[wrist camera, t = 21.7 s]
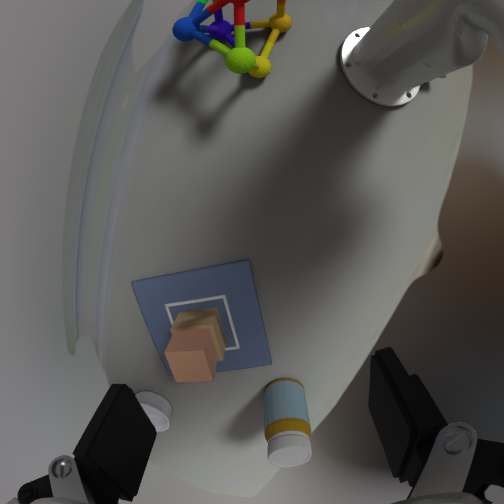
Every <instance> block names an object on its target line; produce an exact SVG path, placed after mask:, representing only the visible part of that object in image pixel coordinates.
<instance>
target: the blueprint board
mask: <svg viewBox="0 0 504 504" xmlns="http://www.w3.org/2000/svg"><path fill="white" fill-rule="evenodd" d="M131 283H132V286H133V288H134V291H135V294H136V297H137V300H138V302H139V305H140V308H141V310H142V313H143V316H144V318H145V321H146V323H147V326H148V328H149V331H150V333H151V335H152V338H153V340H154V343H155V345H156V347H157V350H158V352H159V354H160V356H161V359H162V361H163V363H164V365H165V368H166V370H167V372H168V374H169V375H173V374H172V371H171V369H170V366H169V363H168V361H167V358H166V356H165V353H164V352H165V350H166V348H167V346H168V344H169V341H170V339H171V337H172V333H171V330H170V329H171V327H172V325H173V323H174V321H175V319H176V317H177V315H178V313H179V312H185V311H192V310H200V309H207V308H214V307H218V311H219V315H220V318H221V322H222V326H223V329H224V333H225V336H226V340H227V342H226V348H225V353H224V359H223V360H221V361H217V365H216V370H215V372H219V371H228V370H236V369H244V368H251V367H258V366H265V365H271V364H272V360H271V356H270V352H269V347H268V343H267V338H266V334H265V329H264V325H263V321H262V316H261V312H260V307H259V303H258V298H257V294H256V289H255V285H254V281H253V276H252V272H251V267H250V263H249V259H248V260H243V261H237V262H232V263H227V264H221V265H216V266H211V267H206V268H200V269H195V270H190V271H184V272H179V273H173V274H168V275H163V276H157V277H152V278H147V279H141V280H136V281H132V282H131Z"/></svg>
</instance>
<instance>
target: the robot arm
mask: <svg viewBox="0 0 504 504" xmlns="http://www.w3.org/2000/svg"><path fill="white" fill-rule="evenodd" d="M487 35H489V36H490V37H491V38H492V39H493V40H494V41H495V43H496V44H497V45H498V46H499V47H500V49H502V50H503V51H504V0H394V1H393V3H392V4H391V5H390V6H389V7H388V8H387V9H386V10H385V11H384V13H383V14H382V15H381V16H380V17H379V18H378V19H377V20H376V22H375V23H374V24H373V25H372V26H371V27H370V28H362V29H358V30H356V31H354V32H352V33H351V34H350V35H349V36H348V37H347V38H346V39H345V41H344V42H343V44H342V46H341V50H340V63H341V67H342V70H343V72H344V75H345V77H346V78H347V80H348V82H349V83H350V84H351V86H352V87H353V88H354V89H355V90H356V91H357V92H358V93H359V94H361V95H362V96H363V97H365V98H366V99H368V100H369V101H371V102H374V103H376V104H379V105H382V106H390V107H394V106H400V105H403V104H406V103H407V102H409V101H411V100H412V99H413V98H414V97H415V96H416V95H417V93H418V91H419V89H420V86H421V84H423V83H426V82H428V81H431V80H433V79H435V78H445V77H446V74H448V73H450V72H453V71H456V70H458V69H461V68H464V67H466V66H469V65H471V64H473V63H474V62H476V61H477V60H478V59H479V58H480V57H481V55H482V54H483V52H484V49H485V46H486V42H487ZM346 65H347V66H348V67H347V66H346ZM373 96H374V97H375V98H374V97H373ZM368 405H369V411H370V413H371V416H372V419H373V421H374V424H375V426H376V429H377V432H378V435H379V437H380V440H381V443H382V446H383V448H384V452H385V454H386V457H387V460H388V463H389V466H390V469H391V472H392V475H393V477H394V478H397V477H399V480H400V482H401V483H402V482H404V481H407V480H408V483H409V486H411V487H412V489H411V491H410V493H409V495H408V497H407V499H406V500H403V501H399V502H395V503H392V504H492V503H495V504H504V443H500V442H493V441H488V440H482V439H477V434H476V432H475V430H474V429H473V428H472V427H471V426H469V425H467V424H464V423H453V424H449V425H448V424H447V422H446V421H445V419H444V417H443V415H442V414H441V412H440V410H439V409H438V407H437V405H436V404H435V402H434V400H433V399H432V397H431V396H430V394H429V392H428V391H427V389H426V388H425V386H424V384H423V383H422V381H421V380H420V378H419V377H418V376H417V375H416V374H413V375H410V376H409V375H408V373H407V371H406V370H405V368H404V367H403V365H402V364H401V362H400V360H399V359H398V357H397V355H396V354H395V353H394V351H393V349H392V348H391V347H387V348H384V349H380V350H377V351H376V352H375V355H373V356H371V364H370V388H369V402H368ZM156 435H157V432H156V428H155V427H154V425H153V423H152V422H151V420H150V419H149V417H148V416H147V414H146V413H145V411H144V409H143V408H142V406H141V404H140V403H139V401H138V399H137V398H136V396H135V394H134V393H133V391H132V389H131V388H129V387H128V386H127V385H126V384H112V385H111V386H110V388H109V390H108V392H107V393H106V395H105V397H104V398H103V400H102V402H101V403H100V405H99V407H98V409H97V410H96V412H95V414H94V416H93V417H92V419H91V421H90V422H89V424H88V426H87V428H86V430H85V432H84V433H83V435H82V437H81V439H80V440H79V442H78V444H77V446H76V448H75V450H74V452H73V455H75V458H74V459H73V458H72V457H70V456H66V455H63V456H59V457H57V458H55V459H54V460H53V461H52V462H51V464H50V465H49V469H48V472H49V474H48V475H46V476H44V477H41V478H39V479H36V480H34V481H31V482H29V483H26V484H24V485H23V486H22V487H21V488H20V489H19V491H18V499H17V498H16V497H15V498H13V499H12V500H11V501H9V502H8V503H7V504H119V503H118V500H119V498H120V499H121V500H126V501H131V502H132V500H133V497H134V496H136V495H137V493H138V490H139V487H140V483H141V480H142V477H143V474H144V471H145V468H146V465H147V462H148V459H149V456H150V453H151V450H152V447H153V444H154V441H155V438H156Z"/></svg>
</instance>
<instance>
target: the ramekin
mask: <svg viewBox="0 0 504 504" xmlns="http://www.w3.org/2000/svg"><path fill="white" fill-rule="evenodd" d="M135 396H136V398H137V399H138V401H139V403H140V404H141V406H142V408H143V409H144V411H145V413H146V414H147V416H148V417H149V419H150V420H151V422H152V423H153V425H154V427H155V428H156V432H163V431H166V430H167V429H168V428H169V426H170V417H171V412H172V408H171V405H170V404H169V402H168V401H167V400H166V399H165V398H163V397H162V396H160V395H158V394H156V393H153V392H149V391H142V392H139V393H137V394H136V395H135Z"/></svg>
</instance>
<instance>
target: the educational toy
mask: <svg viewBox="0 0 504 504" xmlns="http://www.w3.org/2000/svg"><path fill="white" fill-rule="evenodd" d="M207 1H208V0H198V1H197V3H196V5H195V6H194V8H193V10H192V11H191V13H190V15H189V17H184V18H181V19H179V20H178V21H177V22H176V23H175V24H174V26H173V29H172V30H173V34H174V36H175V37H176V38H177V39H178V40H181V41H190V40H192V39H194V38H195V39H197V40H199V41H201V42H202V43H204V44H206V45H208V46H209V47H211V48H213V49H214V50H216V51H218V52H219V53H221V54H223V55H224V56H226V59H225V62H226V66H227V67H228V69H229V70H230V71H232V72H234V73H237V74H244V73H247V72H249V74H250V75H251V76H253V77H255V78H263V77H266V76H267V75H268V74H269V73H270V71H271V63H270V61H269V60H268V59H267V58H268V56H269V54H270V52H271V50H272V48H273V46H274V43H275V41H276V39H277V37H278V35H279V33H282V32H286V31H288V30H289V29H290V28H291V26H292V20H291V18H290V17H289V16H288V15H286V14H285V3H286V0H277V13H276V14H273V15H272V16H271V17H270V18H269V20H265V21H255V22H247V23H245V7H244V3H247V2H248V1H250V0H212V1H213V4H211V5H210V6H209V7H207V8H206V9H205V10H203V11H202V9H203V8H204V6H205V4H206V3H207ZM228 3H233V4H234V24H232V25H230V23H229V22H227V21H225V20H223V14H222V7H224V6H225V5H227V4H228ZM201 11H202V12H201ZM212 14H214V16H215V21H214V22H213V23H212V24H211V25H210V26H205V25H200V23H201V22H203V21H204V20H205V19H207V18H208V17H210V16H211V15H212ZM262 27H270V28H271V29H272V32H271V34H270V36H269V38H268V40H267V42H266V44H265V46H264V48H263V50H262V52H261V55H260V56H255V55H254V53H253V51H252V50H250V49H248V48H247V47H245V29H252V28H262ZM232 31H235V38H234V37H233V36H232V35H231V32H232ZM204 33H209V34H210V36H211V37H210V36H208V35H206V34H204ZM213 38H214V39H213ZM215 39H217V40H223V39H226V40H227V41H228V42H229V43H230V44H231V45H232V46H233V47H234V48H233V49H231V48H229V47H227V46H226V45H224V44H222V43H220V42H219V41H217V40H215Z"/></svg>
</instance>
